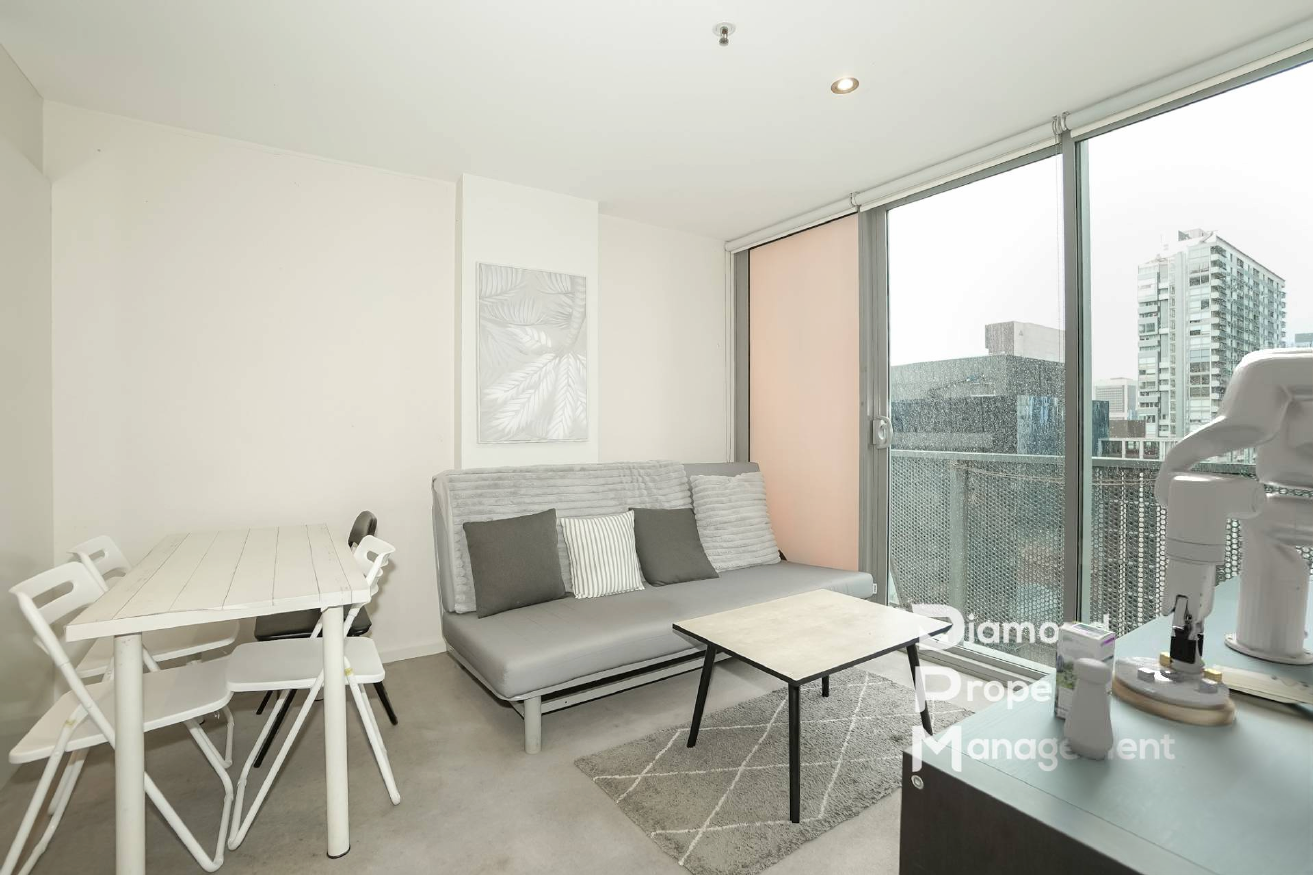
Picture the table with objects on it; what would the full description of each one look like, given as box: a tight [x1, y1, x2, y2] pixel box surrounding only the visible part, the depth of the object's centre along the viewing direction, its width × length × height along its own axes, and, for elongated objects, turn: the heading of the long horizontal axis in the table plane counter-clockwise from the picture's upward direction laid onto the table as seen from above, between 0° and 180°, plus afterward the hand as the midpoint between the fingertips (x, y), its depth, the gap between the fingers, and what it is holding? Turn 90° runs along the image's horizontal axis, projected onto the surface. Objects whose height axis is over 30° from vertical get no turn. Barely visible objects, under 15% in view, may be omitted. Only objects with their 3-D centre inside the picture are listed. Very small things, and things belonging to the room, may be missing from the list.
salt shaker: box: [1063, 658, 1115, 761], centre depth 85 cm, size 6×6×13 cm
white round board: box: [1114, 651, 1230, 710], centre depth 100 cm, size 14×14×4 cm
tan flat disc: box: [1111, 668, 1236, 727], centre depth 100 cm, size 16×16×2 cm
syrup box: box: [1053, 620, 1116, 721], centre depth 93 cm, size 6×6×14 cm
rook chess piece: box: [1171, 623, 1206, 674], centre depth 102 cm, size 4×4×8 cm
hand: (1185, 656), depth 102 cm, fingers closed on rook chess piece, 3 cm apart
